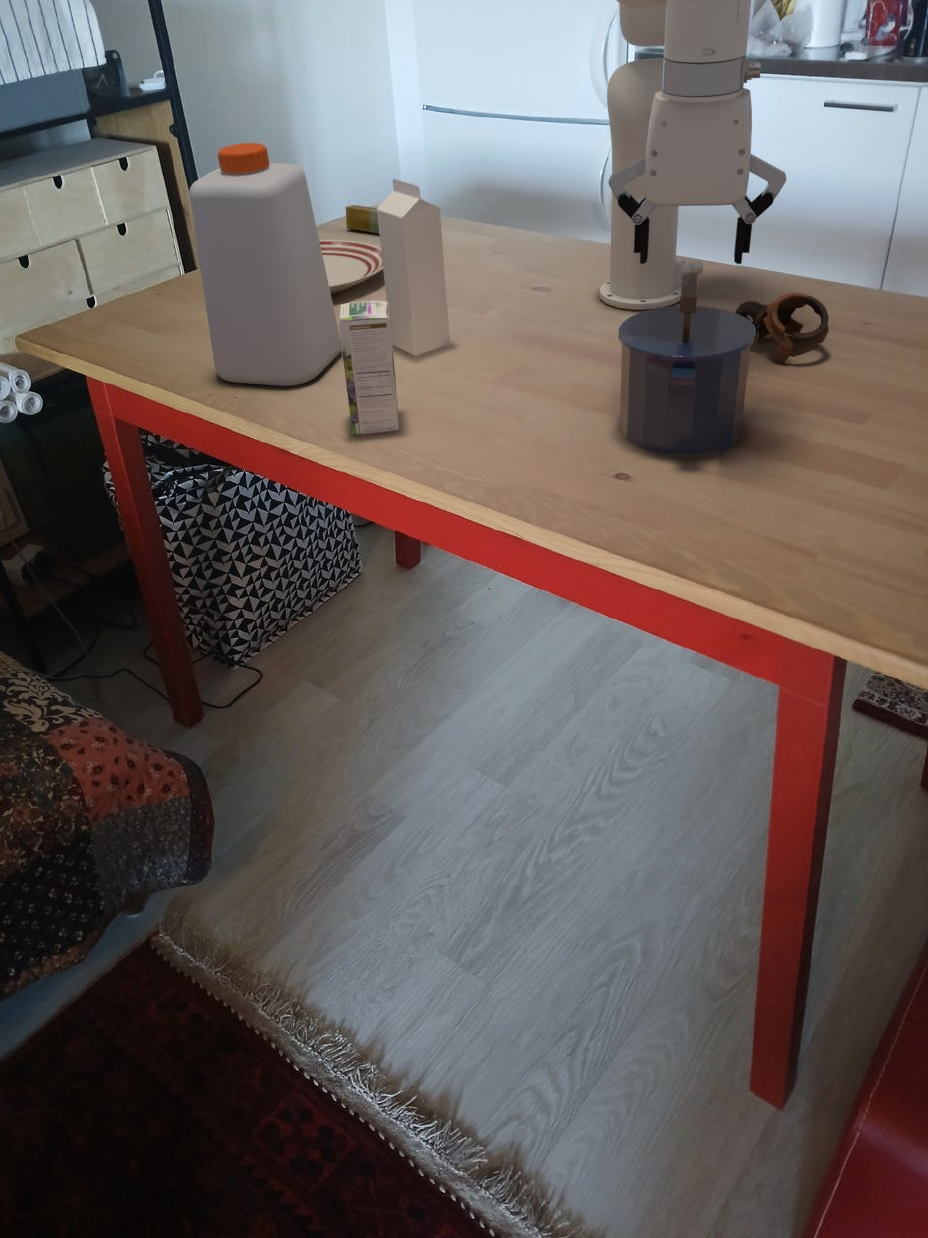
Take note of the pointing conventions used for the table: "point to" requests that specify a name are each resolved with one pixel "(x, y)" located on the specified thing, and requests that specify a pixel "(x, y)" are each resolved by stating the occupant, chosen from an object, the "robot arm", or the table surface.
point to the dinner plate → (349, 262)
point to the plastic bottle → (262, 270)
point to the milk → (413, 270)
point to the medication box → (362, 218)
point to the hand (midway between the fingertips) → (690, 259)
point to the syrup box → (369, 366)
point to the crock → (682, 402)
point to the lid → (687, 330)
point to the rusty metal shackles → (786, 324)
